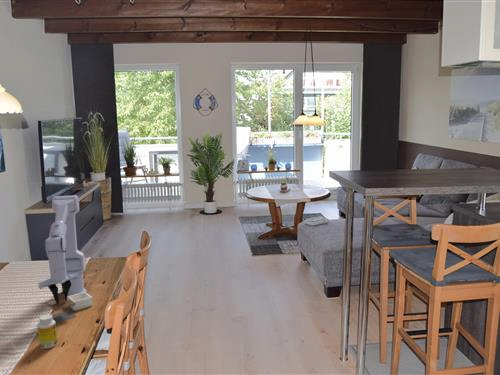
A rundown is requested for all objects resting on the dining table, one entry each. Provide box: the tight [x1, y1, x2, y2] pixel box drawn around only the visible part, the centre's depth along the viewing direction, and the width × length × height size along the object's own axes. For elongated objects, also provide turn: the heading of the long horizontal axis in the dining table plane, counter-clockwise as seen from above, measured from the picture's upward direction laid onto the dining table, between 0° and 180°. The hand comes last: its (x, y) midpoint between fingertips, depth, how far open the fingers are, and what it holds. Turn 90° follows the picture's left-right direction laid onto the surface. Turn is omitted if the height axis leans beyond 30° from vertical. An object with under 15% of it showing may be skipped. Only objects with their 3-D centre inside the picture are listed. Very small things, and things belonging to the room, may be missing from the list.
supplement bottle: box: [37, 314, 58, 349], centre depth 154 cm, size 6×6×10 cm
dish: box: [67, 292, 94, 312], centre depth 186 cm, size 8×8×4 cm
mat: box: [51, 310, 77, 324], centre depth 176 cm, size 8×8×1 cm
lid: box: [47, 291, 75, 312], centre depth 175 cm, size 8×8×4 cm
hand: (61, 301), depth 175 cm, fingers closed on lid, 2 cm apart
